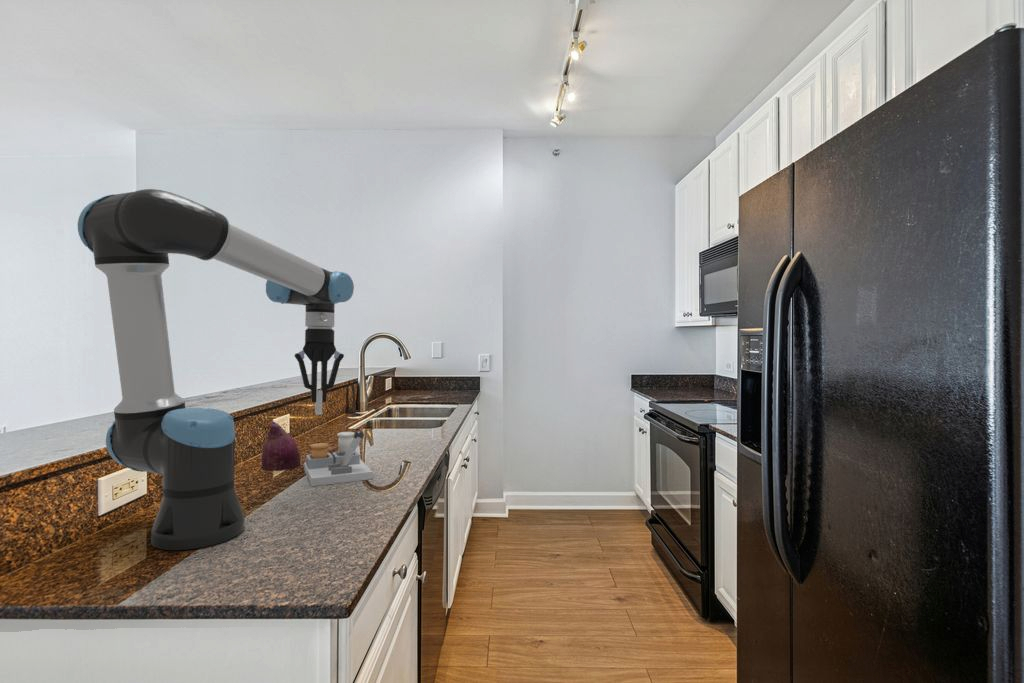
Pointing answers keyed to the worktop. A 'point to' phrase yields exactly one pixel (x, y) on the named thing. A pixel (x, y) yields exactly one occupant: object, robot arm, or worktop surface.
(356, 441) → the lever
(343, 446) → the plunger white
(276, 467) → the vegetable
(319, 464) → the panel
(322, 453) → the plunger orange
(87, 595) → the worktop surface
